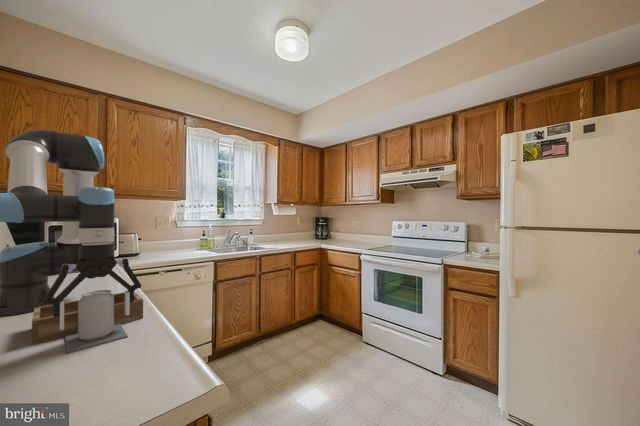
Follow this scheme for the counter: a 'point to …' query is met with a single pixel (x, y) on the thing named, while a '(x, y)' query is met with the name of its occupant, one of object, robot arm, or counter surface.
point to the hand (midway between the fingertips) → (96, 320)
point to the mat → (78, 344)
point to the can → (95, 315)
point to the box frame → (49, 325)
